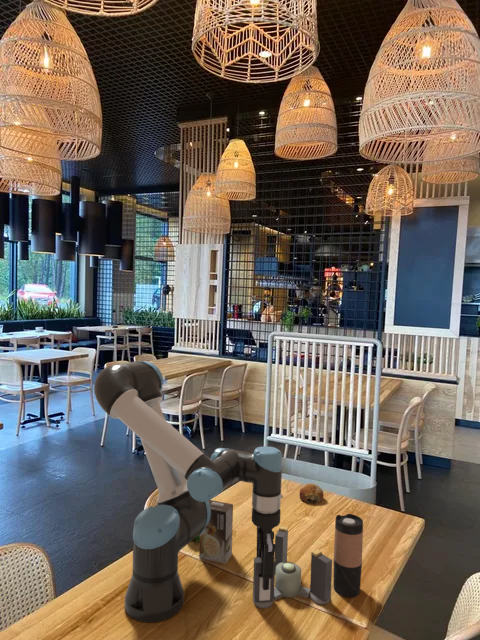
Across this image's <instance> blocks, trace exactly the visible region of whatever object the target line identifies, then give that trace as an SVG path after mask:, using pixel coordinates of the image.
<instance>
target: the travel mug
mask: <svg viewBox="0 0 480 640" xmlns="http://www.w3.org/2000/svg"><path fill="white" fill-rule="evenodd" d="M334 525H335V526H334V543H333V545H334V546H333V590H334V592H336V593H335V594H338V596H341V597H344V598H350V599H351V598H355V597H358V596H359V594H360V593H361V581H362V568H363V567H362V566H363V542H364V541H363V537H364V534H363V531H364V520H363V519H362V518H361V517H360V516H358V515H356V514H353V513H347V514H345V515H341V514H337V515H336V516H335V522H334Z"/></svg>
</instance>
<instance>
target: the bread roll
mask: <svg viewBox="0 0 480 640" xmlns="http://www.w3.org/2000/svg"><path fill="white" fill-rule="evenodd" d="M299 499H300V501H302V502H303V501H304V503H306V502H307V504H318V503H321V502H322V501H323V500H324V491H323V488H321V486H319V485H318V484H316V483H314V482H313V483H312V482H307V483H305V484H304V485H303V486H301V487H300V489H299Z"/></svg>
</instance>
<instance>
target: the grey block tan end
mask: <svg viewBox="0 0 480 640" xmlns="http://www.w3.org/2000/svg"><path fill="white" fill-rule="evenodd" d="M288 543H289V527H288V526H284V525H283V526H282V525H280V526H279V527H278V530H277V532H276V534H274V544H275V546H276V547H275V552H274V558H275V575H276V566H277V565H278V564H279V563H281V562H288Z"/></svg>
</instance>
